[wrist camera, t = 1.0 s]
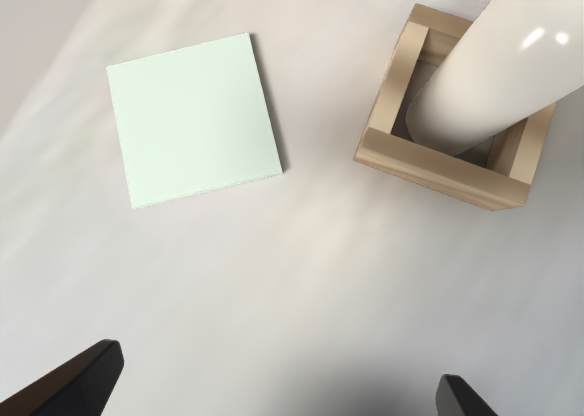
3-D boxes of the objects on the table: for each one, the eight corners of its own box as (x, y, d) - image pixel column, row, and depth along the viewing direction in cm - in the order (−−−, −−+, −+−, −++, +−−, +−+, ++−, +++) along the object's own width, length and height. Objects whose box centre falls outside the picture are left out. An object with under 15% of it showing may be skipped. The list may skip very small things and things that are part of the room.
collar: (491, 211, 24) (524, 205, 20) (353, 159, 25) (361, 146, 21) (533, 80, 25) (571, 54, 21) (400, 35, 26) (415, 3, 22)
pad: (282, 173, 25) (282, 171, 24) (137, 209, 25) (132, 208, 24) (249, 38, 26) (248, 32, 25) (111, 72, 26) (106, 66, 25)
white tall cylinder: (468, 167, 24) (660, 81, 11) (396, 141, 25) (502, 29, 12) (499, 75, 25) (711, -103, 12) (428, 51, 25) (562, -146, 13)
